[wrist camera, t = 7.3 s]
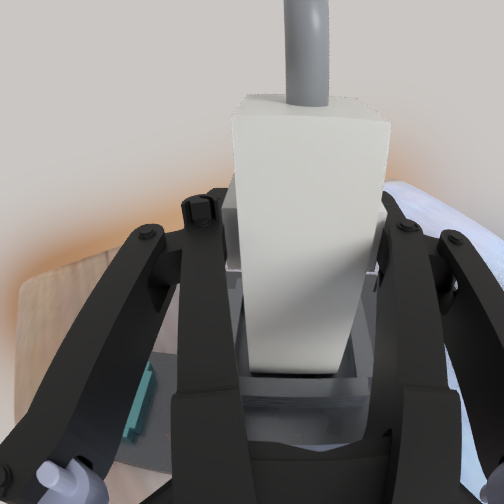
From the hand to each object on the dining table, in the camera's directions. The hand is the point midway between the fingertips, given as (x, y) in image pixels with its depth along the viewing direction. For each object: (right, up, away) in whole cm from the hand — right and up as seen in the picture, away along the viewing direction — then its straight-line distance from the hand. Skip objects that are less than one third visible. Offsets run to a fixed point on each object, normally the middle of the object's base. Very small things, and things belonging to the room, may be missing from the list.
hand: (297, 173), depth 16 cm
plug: (0, -9, 0) cm, 9 cm away
